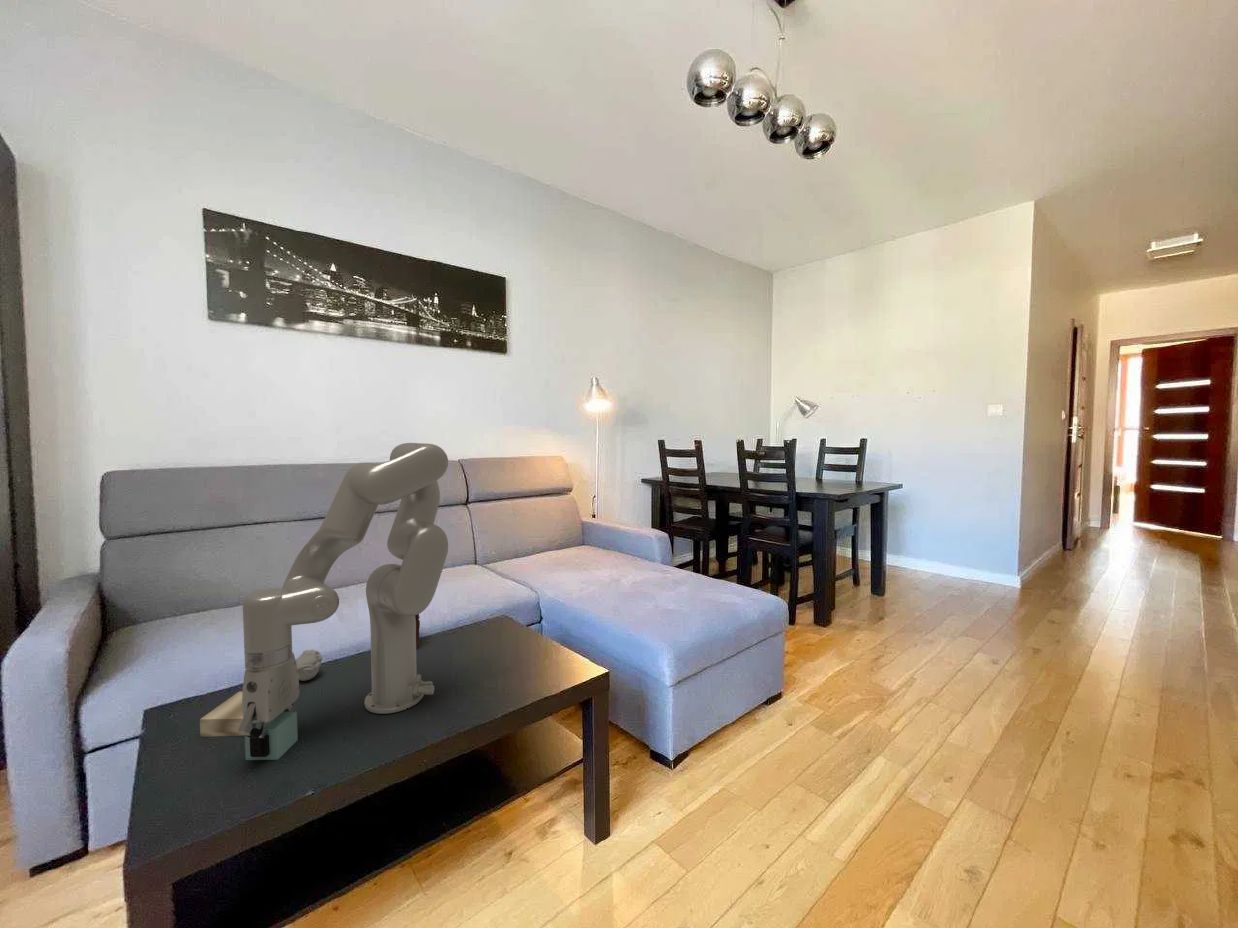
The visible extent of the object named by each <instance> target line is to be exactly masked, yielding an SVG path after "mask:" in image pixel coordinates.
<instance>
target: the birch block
mask: <svg viewBox="0 0 1238 928" xmlns="http://www.w3.org/2000/svg"><path fill="white" fill-rule="evenodd" d="M242 693H243V690H241V691H238V692H236V693H234V694H233V695H232V696H231V697H229V698H227V699H226V700H225V701H223V702H222V703H221V704H219V705H217V706H216V707H215V708H213V709H212V710H211V711H210V712H208V713H206V714H205V715H204V716H202V717H201V718H200V719H199V730H200V732H199V735H200V737H203V738H204V737H245V735H244V734H241V733H239V732H238V729H239V727H240V725H241V722H242V720H243V713H242ZM257 719H258V716H257Z"/></svg>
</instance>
